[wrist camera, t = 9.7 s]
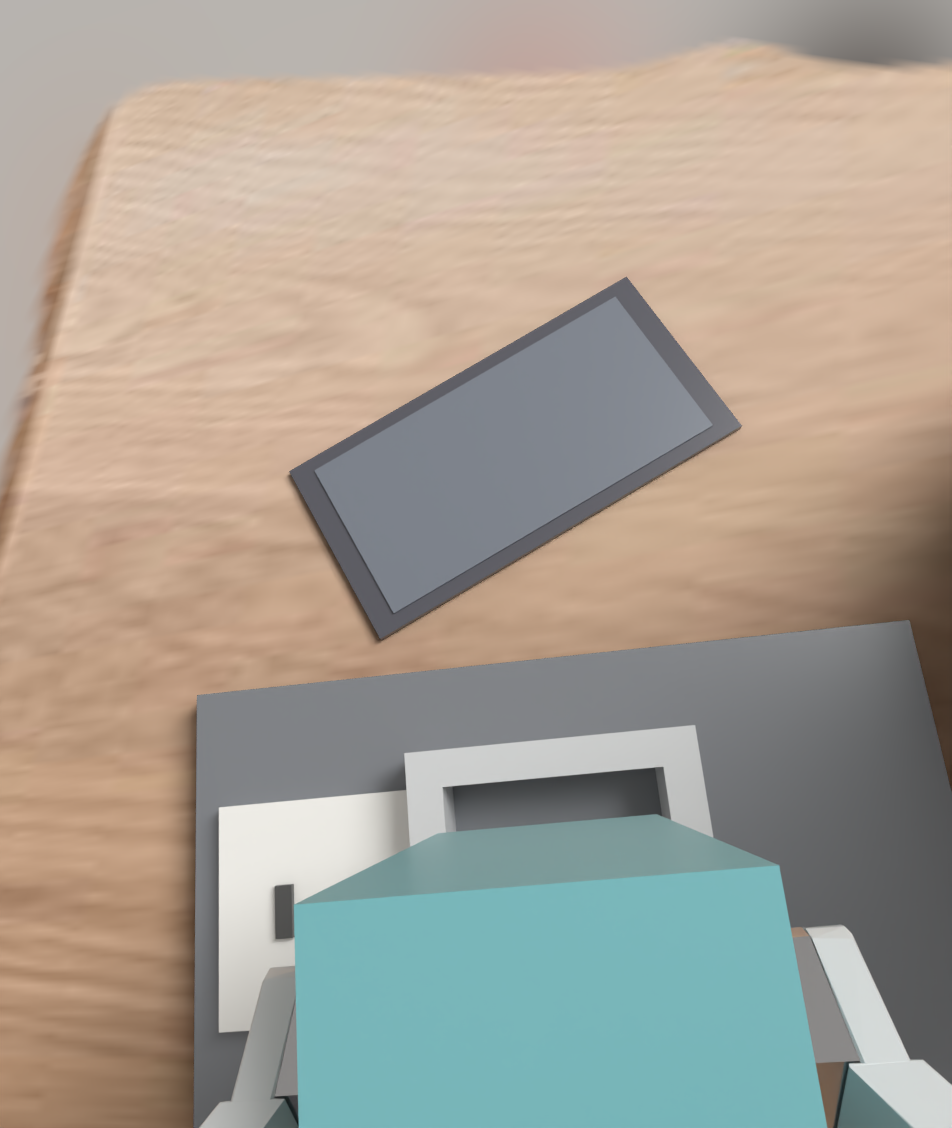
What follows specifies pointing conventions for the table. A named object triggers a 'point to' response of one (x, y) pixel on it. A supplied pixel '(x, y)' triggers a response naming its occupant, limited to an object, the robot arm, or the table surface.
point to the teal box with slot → (554, 985)
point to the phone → (509, 455)
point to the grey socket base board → (587, 796)
